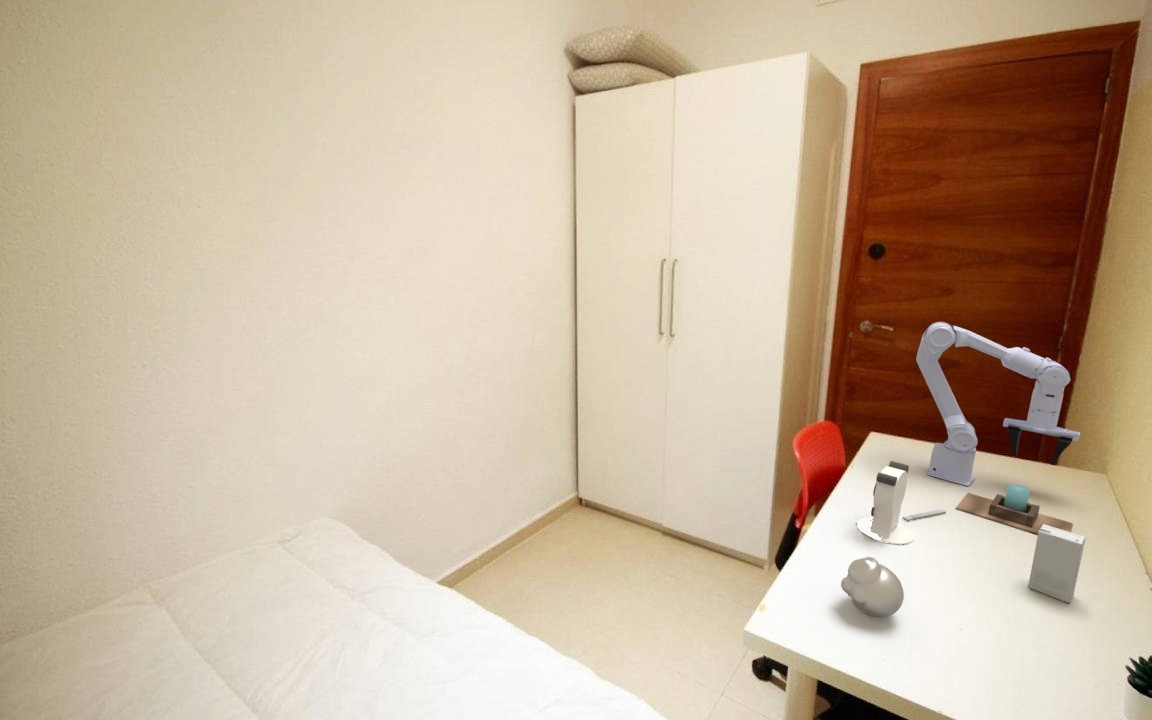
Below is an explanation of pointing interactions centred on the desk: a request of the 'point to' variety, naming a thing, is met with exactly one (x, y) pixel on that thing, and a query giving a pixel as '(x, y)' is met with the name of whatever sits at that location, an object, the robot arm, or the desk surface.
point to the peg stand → (1010, 514)
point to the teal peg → (1016, 497)
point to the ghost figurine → (873, 588)
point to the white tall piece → (890, 504)
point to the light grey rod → (924, 515)
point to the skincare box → (1056, 562)
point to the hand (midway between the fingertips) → (1033, 459)
